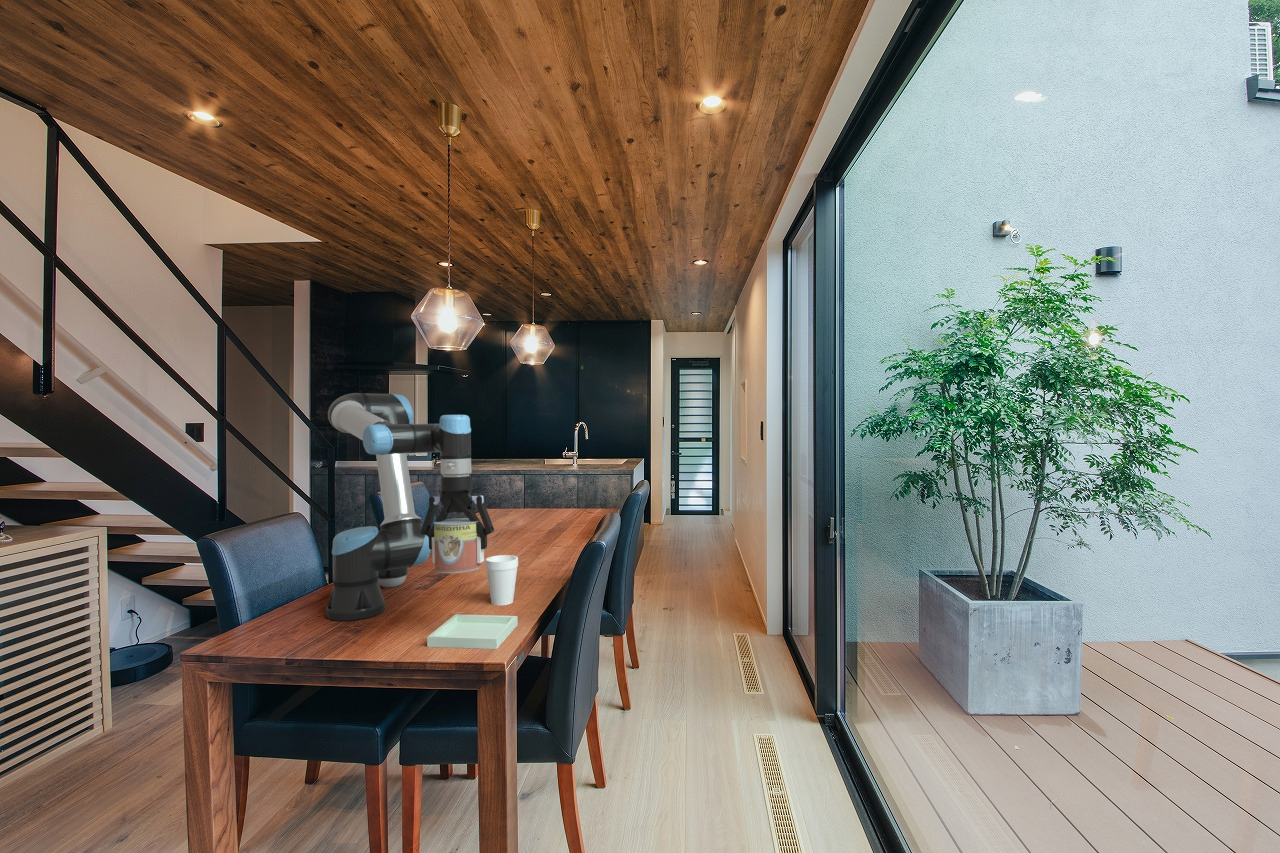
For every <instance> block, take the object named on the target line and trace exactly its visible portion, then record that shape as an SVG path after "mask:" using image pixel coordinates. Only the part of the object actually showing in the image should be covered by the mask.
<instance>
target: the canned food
mask: <svg viewBox="0 0 1280 853" xmlns="http://www.w3.org/2000/svg"><path fill="white" fill-rule="evenodd" d="M478 519H479V520H478V521H475V522H470V520H469V519H468V517H457V518H446V519H445V521H442V522H435V521H433V524H434V540H435V563H434V572H436V573H439V574H460V573H461V574H462V573H469V572H473V571H476V570H479V569H480V568H482V562H481V563H477V537H478V536H480V535H479V534H478V532H477V531H476V522H479V521H481V518H478Z"/></svg>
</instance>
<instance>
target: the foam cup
mask: <svg viewBox="0 0 1280 853" xmlns="http://www.w3.org/2000/svg"><path fill="white" fill-rule="evenodd" d="M518 567H519V557H518V556H517V555H509V554H501V555H493V556H489V557H487V558H485V569H486V574H487V579H488V580H487V581H488V588H489V594H490V596H489V597H490V602H491V605H493V606H508V605H510V604H513V603H514V598H515V588H516V581H517V573H518Z"/></svg>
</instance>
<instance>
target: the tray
mask: <svg viewBox="0 0 1280 853" xmlns="http://www.w3.org/2000/svg"><path fill="white" fill-rule="evenodd" d="M518 619H519V618H518V615H494V614H493V615H491V614H490V615H488V614H459V613H458V614H454V615H453V616H451V617H450V618H449V619H447V620H446V621H445V622H444V623H443V624H441V625H440V626H438V627H437V629H435V630H434V631H432V632H431V633H430V634H429V635H428V636H427V639H426V640H427V642H426V643H427V644H426V645H427V648H446V649H447V648H450V649H455V648H456V649H479V650H480V649H482V650H483V649H484V650H497V649H498V648H499V647H500V646H501V645H502V644H503V642H504V641H505V640H506V639H507V638H508V637H509V636H510V634H511V633H512V632H513V631H514V630H515V629H516V628H517V627H518V625H519V624H518Z"/></svg>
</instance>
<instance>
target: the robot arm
mask: <svg viewBox="0 0 1280 853" xmlns="http://www.w3.org/2000/svg"><path fill="white" fill-rule="evenodd" d="M327 418H328V421H329V424H331V426H332V427H333V428H334V429H335V430H337V431H339V432H341V433H344V434H351V435H352V436H354V437H356V438H358V439H360V440H361V441H362V444H363V448H364V450H365V452H366V453H367V454H369V455H375V457H376V465H377V471H378V480H379V487H380V494H381V502H382V509H383V516H384V517H383V518H384V519H383V521H382V522H381V523H380V525H379V528H380V530H379V529H378V527H377V526H372V525H369V526H368V525H367V526H360V527H354V528H350V529H347V530H343V531H341V532H339V533H337V534H336V535H335V536H334V538H333V540H332V548H331V555H332V590H331V593H330V596H329V597H328V598H329V599H328V601H327V604H326V608H325V609H326V610H325V616H326V618H327V619H329V620H331V621H338V622H339V621H341V622H342V621H343V622H345V621H346V622H347V621H357V620H364V619H367V618H368V619H369V618H372V617H375V616H377V615H380V614H382V613H383V612H385V610H386V599H385V597H384V595H383V591H382V589H381V586H380V585H379V583H378V572H381V571H386V570H392V569H399V568H405V567H408V568H412V567H415V566H419V565H422V564H425V562H427V560H428V559H429V556H430V555H432V558H431V560H432V564H435V540H434V522H442V521H445V519H447V517H448V515H450V514H452V513H459V514H460V513H461V514H462V513H463V514H464V515H465V516H466V518H468V519H469V520H470V522H475V521H478V520H479V519H480V521H479V522H476V531H477V532H478V534H479V535H480V536H478V537H477V563H481V564H482V563H483V562H485V549H487V548H488V535H490V534H492V533H494V532H495V528H494V525H493V523H492V520H491V518H490V515H489V514H490V513H489V512H488V510H487V506H486V503H485V502H486V501H485V495H483V494H481V495H474V494H473V492H472V491H473V480H472V478H473V477H472V476H471V474H472V472H473V471H472V427H471V418H470V416H469V415H467V414H443V415H441V416H440V417H439V423H414V420H413V419H414V410H413V407H412V405H411V402H410V401H409V399H408V398H407V397H406V396H404V395H403V394H397V393H395V394H394V393H390V392H388V393H366V392H365V393H361V392H360V393H359V392H353V393H347V394H344V395H342V396H339V397H338V398H337V399H335V400H334V401H333V402H332V403H331V405H330V406H329V408H328V410H327ZM422 453H423V454H424V453H425V454H427V453H440V455H439V457H440V474H441V475H442V476H441V478H440V491H441V494H440V496H437V495H433V496H430V497H429V498H428V508H427V511H426V515H425V518H424V521H423V523H422V518H421V517H420V516H419V515H417V514H416V512H415V505H414V499H413V490H412V485H411V484H412V483H411V478H410V471H409V465H408V463H409V462H408V458H407V457H408V456H407V454H422ZM472 502H474V504H475V505H476V508H477V511H478V514H479V517H480V518H479V517H478V515H477V514H476V513H475V510H474V508H473V507H472V505H471V504H472ZM440 503H441V504H442V506H443V507H442V508H441V510H440V513H439V515H438V517H436V519H434V518H435V516H436V514H437V512H436V511H437V509H438V506H439V504H440ZM434 520H435V521H434ZM431 552H432V553H431Z"/></svg>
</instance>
